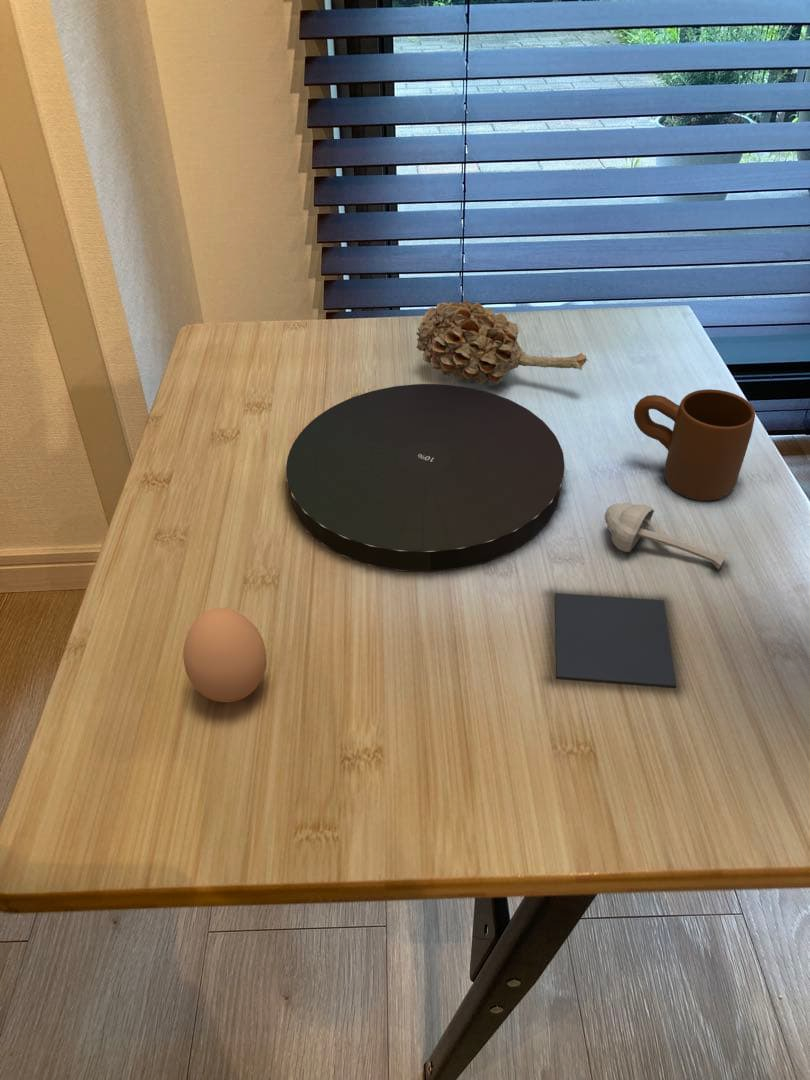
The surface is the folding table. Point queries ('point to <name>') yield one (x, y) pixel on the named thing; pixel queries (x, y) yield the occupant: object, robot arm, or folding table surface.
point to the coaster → (613, 640)
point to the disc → (425, 477)
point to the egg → (224, 655)
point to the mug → (700, 440)
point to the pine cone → (477, 344)
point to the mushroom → (631, 525)
